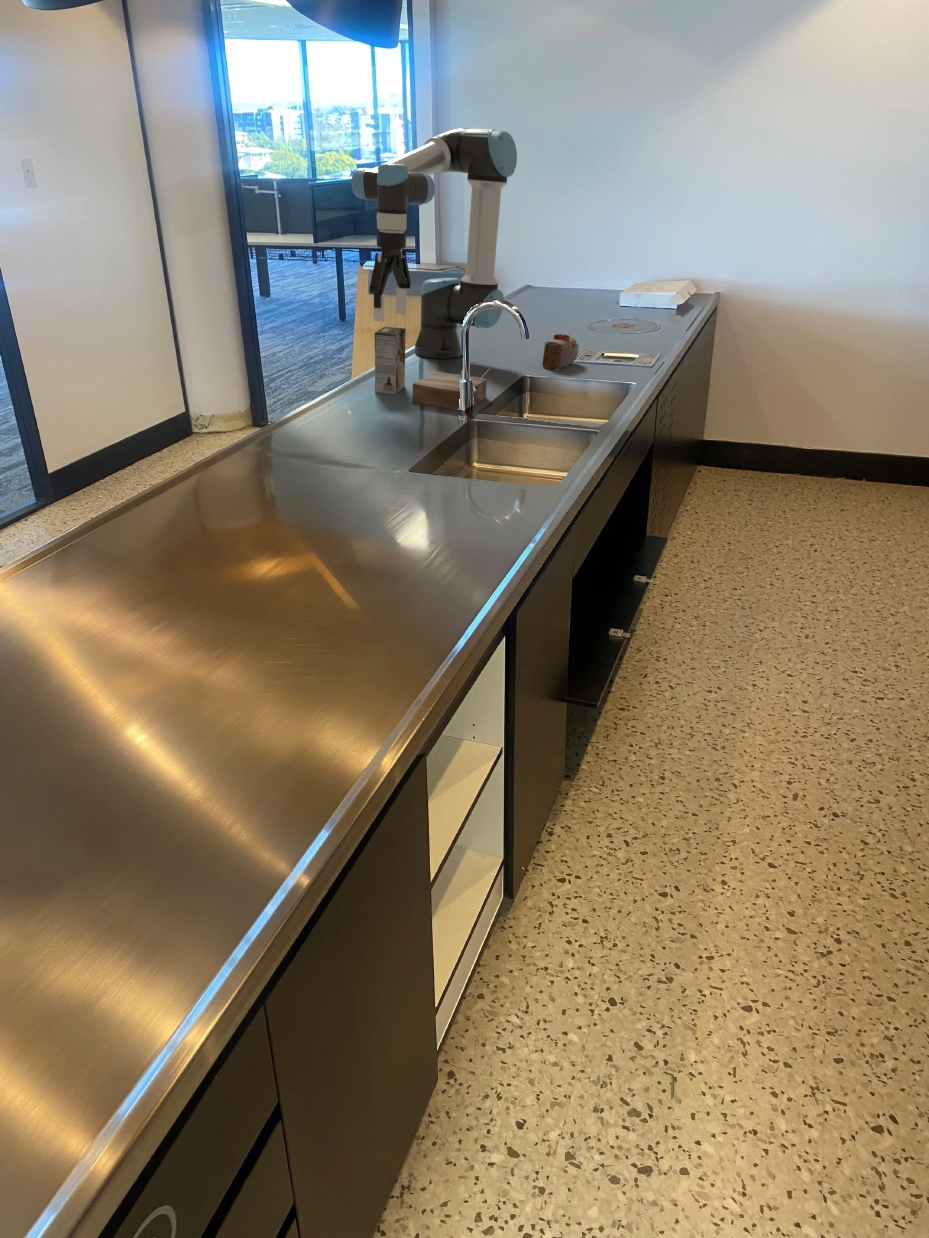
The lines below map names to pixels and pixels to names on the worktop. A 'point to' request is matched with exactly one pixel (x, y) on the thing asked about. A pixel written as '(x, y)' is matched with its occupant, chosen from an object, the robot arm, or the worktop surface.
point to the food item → (560, 352)
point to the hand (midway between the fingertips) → (390, 317)
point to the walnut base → (444, 390)
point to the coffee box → (389, 360)
